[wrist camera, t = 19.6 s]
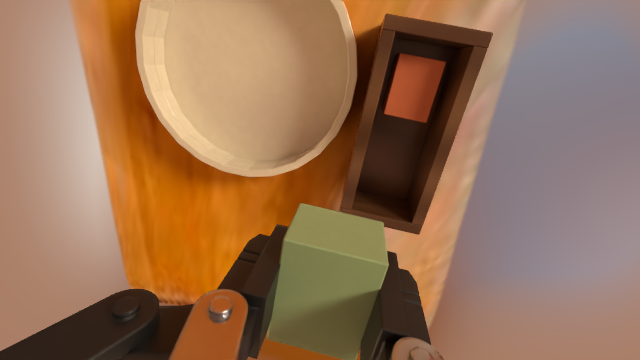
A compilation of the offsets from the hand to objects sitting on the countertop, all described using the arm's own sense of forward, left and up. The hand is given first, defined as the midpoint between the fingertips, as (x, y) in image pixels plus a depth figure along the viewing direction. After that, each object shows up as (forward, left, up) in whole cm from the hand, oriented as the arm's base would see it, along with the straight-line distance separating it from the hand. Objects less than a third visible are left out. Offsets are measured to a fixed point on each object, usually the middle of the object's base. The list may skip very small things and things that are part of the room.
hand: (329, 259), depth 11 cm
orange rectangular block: (-6, +3, -15) cm, 16 cm away
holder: (-3, +3, -15) cm, 16 cm away
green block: (0, 0, 0) cm, 0 cm away
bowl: (-5, -9, -15) cm, 18 cm away
